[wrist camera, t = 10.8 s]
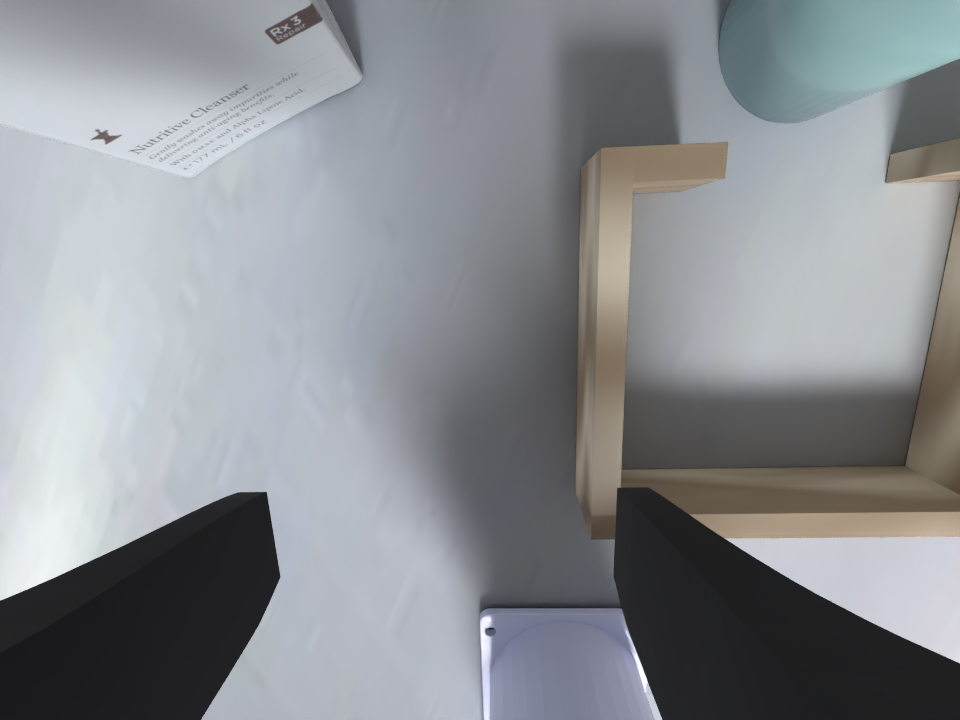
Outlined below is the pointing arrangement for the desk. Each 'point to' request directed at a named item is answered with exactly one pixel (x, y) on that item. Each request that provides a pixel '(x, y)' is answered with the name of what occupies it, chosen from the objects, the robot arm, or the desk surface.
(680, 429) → the desk surface
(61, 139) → the skincare box
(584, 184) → the cradle
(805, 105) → the teal cylinder with tab
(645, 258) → the desk surface
